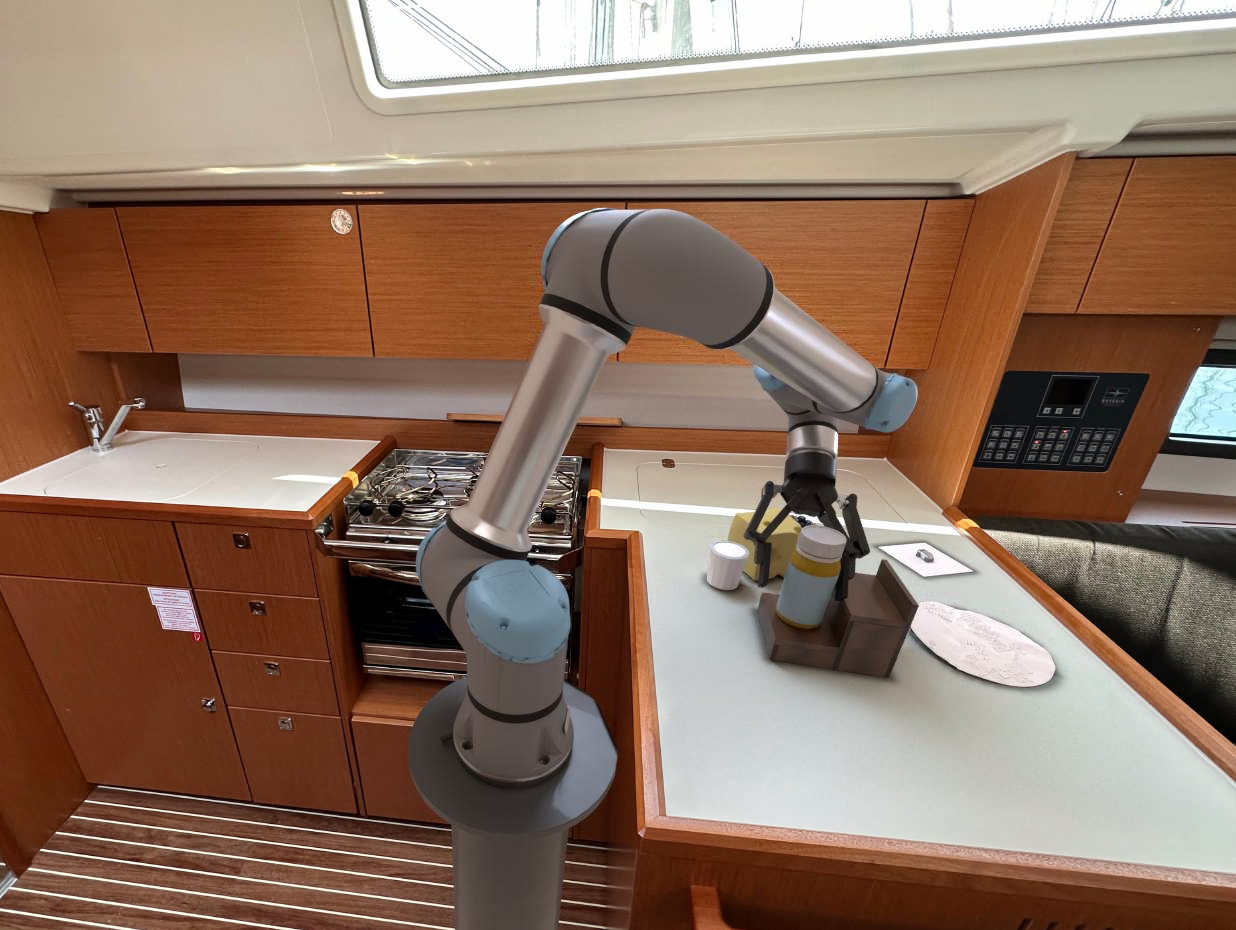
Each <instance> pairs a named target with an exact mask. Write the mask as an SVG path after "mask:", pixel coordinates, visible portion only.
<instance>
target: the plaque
mask: <svg viewBox="0 0 1236 930" xmlns="http://www.w3.org/2000/svg"><path fill="white" fill-rule="evenodd" d="M918 605H919V607H918V609H917V612H916V614H915V617H914V619H913V621H912V624H911V626H910V629H912V631H913V632H914V634H915V635H916V636H917V637H918V639H919V640H920V641H921V642H922V643H923V644H924V645H925V646H926V647H927V648H929V650H931V651H932V652H933V653H935V655H936V656H939V657H940V658H942V659H943V660H944V661H946V662H948V663H949V664H950V665H952V666H954V667H955V668H956V669H957V670H959V671H962V672H965V673H967V674H969V675H972V676H974V677H979V678H981V679H983V680H988V681H990V682H994V683H998V684H1001V685H1006V686H1011V687H1023V688H1024V687H1025V688H1026V687H1037V686H1042V685H1043V684H1046V683H1048V682H1049V681H1051V679H1053V676H1054V673H1055V672H1056V665H1055V662H1054V661H1053V660H1054V659H1053V658H1052V655H1051V654H1050V653H1049V652H1048V651H1047V650H1046V649H1045V648H1044V647H1042V646H1041V645H1039V644H1038V643H1036V642H1034V640H1032V639H1031V638H1029V637H1027V636H1026V635H1024V634H1023V633H1021V632H1020V631H1019V630H1018V629H1015V628H1013V627H1011V626H1009V625H1007V624H1005V623H1002V622H1001V621H998V620H995V619H994V618H991V617H988V616H986V615H984V614H981V613H978V612H975V611H971V610H964V609H958V608H955V607H953V606H949V605H946V604H943V603H942V602H939V601H922V602H919V603H918Z"/></svg>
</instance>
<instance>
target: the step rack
mask: <svg viewBox="0 0 1236 930" xmlns="http://www.w3.org/2000/svg"><path fill="white" fill-rule="evenodd" d="M835 588H836V585H835ZM835 588H834V591H833V594H832V597H831V600H830V604H829V607H828V610H827V613H826V616H825V619H824V621H823V623H822V625H821V626H819V627H816V628H814V629H808V630H805V629H799V628H795V627H792V626H790V625H788V624H786V623H785V622H783V621H782V620H781V619H780V617H779V616H778V614H777V612H776V607H777V602H778V599H779V595H780V594H778V593H769V592H761V594H760V599H759V603H758V606H757V610H756V613H757V617H758V620H759V624H760V628H761V632H762V636H763V639H764V643H765V647H766V651H767V655H768V658H769V660H770V661H776V662H782V663H790V664H795V665H803V666H807V667H815V668H822V669H828V670H834V671H842V672H847V673H856V674H861V675H867V676H874V677H881V678H887V679H888V678H889V679H890V677H891V674H892V672H893V669H894V667H895V665H896V662H897V659H898V658H899V656H900V653H901V651H902V648H903V646H904V643H905V640H906V638H907V636H908V633H909V631H910V629H911V624H912V621H913V619H914V617H915V614H916V612H917V609H918V607H919V605H918V604H919V603H918V602H917V600H916V599H915V598H914V596H913V595H912V594H911V592H910V590H909V589H908V588H907V586H906V584H904V582H903V581H902V579H901V578H900V576H899V575H898V573H897V572H896V571H895V569H894V567H893V566H892V564H891V563H890V562H889V560H888V559H884V558H882V559H881V560H880V562H879V566H878V568H877V572H876V574H869V573H861V572H855V576H854V578H853V579H851V580H849V581H848V598H846V599H844V600H842V601H835Z"/></svg>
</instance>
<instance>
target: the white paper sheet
mask: <svg viewBox="0 0 1236 930" xmlns="http://www.w3.org/2000/svg"><path fill="white" fill-rule="evenodd" d="M878 549H880V550H882V551H883V552H885V553H887V554H888V555H889V556H892V558H894V559H896V560H897V561H899V562H900V563H902V564H903V565H905V566H906V567H908V568H909V569H911V570H912V571H914V572H916V573H917V574H919V575H920V576H921V577H923V578H924V577H934V576H944V575H953V574H962V573H971V572H974V570H972V569H971V568H969V567H967V566H966V565H963V564H962V563H960V562H958V561H957V560H956V559H953V558H952V557H950V556H948V555H947V554H945V553H943V552H941V551H940V550H938V549H936V548H935V547H933V546H931V545H930V544H928V543H926V542H918V543H917V542H916V543H907V544H905V543H904V544H893V545H884V546H878Z"/></svg>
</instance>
